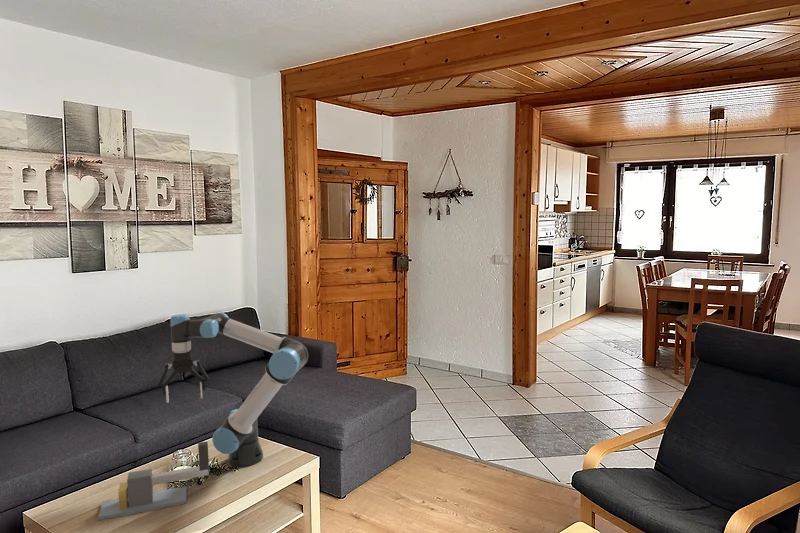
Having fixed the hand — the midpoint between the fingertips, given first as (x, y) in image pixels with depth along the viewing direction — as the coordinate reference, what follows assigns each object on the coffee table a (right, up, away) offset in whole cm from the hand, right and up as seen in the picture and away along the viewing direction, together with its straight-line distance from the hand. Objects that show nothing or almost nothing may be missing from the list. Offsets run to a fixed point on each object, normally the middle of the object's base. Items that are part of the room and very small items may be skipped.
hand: (184, 399), depth 234 cm
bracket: (-6, -34, -24) cm, 42 cm away
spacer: (-12, -33, -27) cm, 45 cm away
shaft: (+4, -26, -21) cm, 34 cm away
